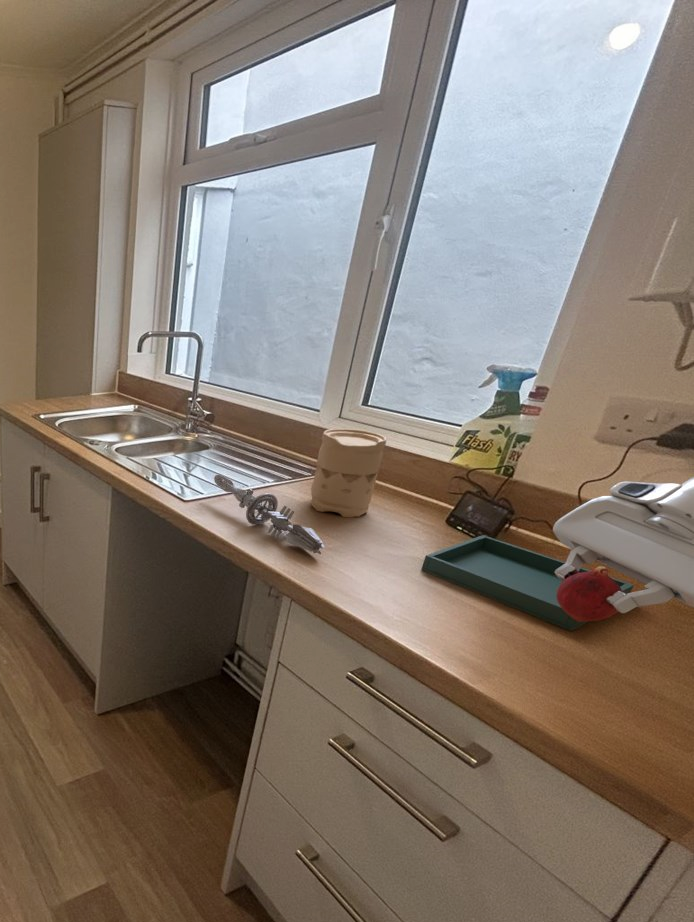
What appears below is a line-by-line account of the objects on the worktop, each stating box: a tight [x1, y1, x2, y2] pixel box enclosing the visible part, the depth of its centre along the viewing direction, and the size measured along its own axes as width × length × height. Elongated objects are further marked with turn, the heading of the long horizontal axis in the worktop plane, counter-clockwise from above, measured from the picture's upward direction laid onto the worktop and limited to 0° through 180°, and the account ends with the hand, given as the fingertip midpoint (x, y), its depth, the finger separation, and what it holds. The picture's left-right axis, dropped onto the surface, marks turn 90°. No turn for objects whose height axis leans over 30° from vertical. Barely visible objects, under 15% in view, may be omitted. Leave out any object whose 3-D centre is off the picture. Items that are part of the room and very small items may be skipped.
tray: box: [421, 534, 635, 632], centre depth 93 cm, size 22×20×3 cm
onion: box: [556, 566, 622, 622], centre depth 67 cm, size 6×6×8 cm
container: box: [310, 428, 388, 518], centre depth 124 cm, size 13×13×18 cm
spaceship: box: [213, 474, 326, 555], centre depth 117 cm, size 8×35×8 cm
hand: (585, 591), depth 67 cm, fingers closed on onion, 6 cm apart
